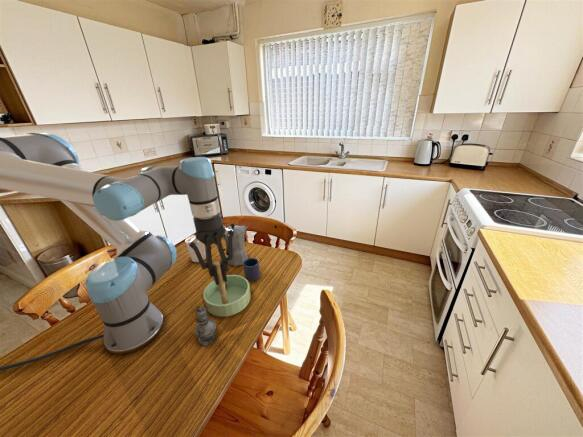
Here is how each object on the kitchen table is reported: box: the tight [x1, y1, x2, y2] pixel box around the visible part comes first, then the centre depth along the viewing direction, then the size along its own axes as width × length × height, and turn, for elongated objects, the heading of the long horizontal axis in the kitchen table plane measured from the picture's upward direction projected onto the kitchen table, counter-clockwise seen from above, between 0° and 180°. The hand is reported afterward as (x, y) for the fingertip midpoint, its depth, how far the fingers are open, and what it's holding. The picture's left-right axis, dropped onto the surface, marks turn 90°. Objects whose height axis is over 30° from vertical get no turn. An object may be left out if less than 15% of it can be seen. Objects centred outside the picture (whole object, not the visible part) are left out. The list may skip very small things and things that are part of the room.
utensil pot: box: [242, 257, 261, 282], centre depth 92 cm, size 6×6×7 cm
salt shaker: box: [194, 306, 217, 346], centre depth 67 cm, size 6×6×12 cm
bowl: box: [202, 274, 252, 318], centre depth 82 cm, size 15×15×5 cm
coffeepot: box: [215, 223, 249, 267], centre depth 100 cm, size 15×9×18 cm, turn 129°
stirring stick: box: [213, 260, 228, 304], centre depth 77 cm, size 2×2×16 cm
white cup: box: [184, 234, 206, 263], centre depth 105 cm, size 8×8×10 cm
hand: (220, 280), depth 76 cm, fingers closed on stirring stick, 2 cm apart
